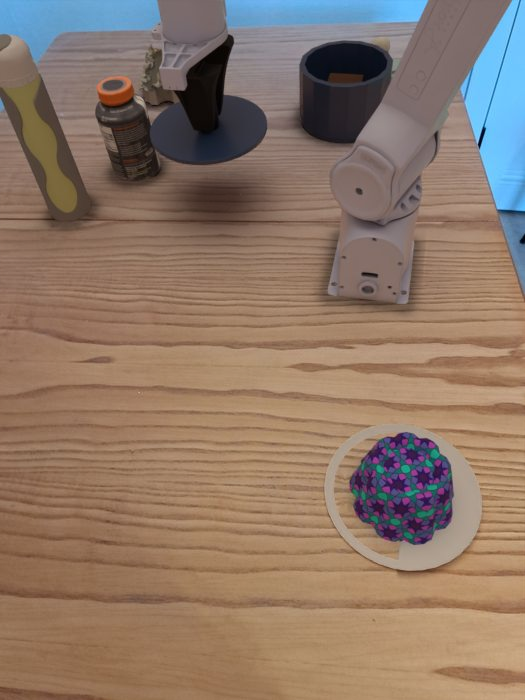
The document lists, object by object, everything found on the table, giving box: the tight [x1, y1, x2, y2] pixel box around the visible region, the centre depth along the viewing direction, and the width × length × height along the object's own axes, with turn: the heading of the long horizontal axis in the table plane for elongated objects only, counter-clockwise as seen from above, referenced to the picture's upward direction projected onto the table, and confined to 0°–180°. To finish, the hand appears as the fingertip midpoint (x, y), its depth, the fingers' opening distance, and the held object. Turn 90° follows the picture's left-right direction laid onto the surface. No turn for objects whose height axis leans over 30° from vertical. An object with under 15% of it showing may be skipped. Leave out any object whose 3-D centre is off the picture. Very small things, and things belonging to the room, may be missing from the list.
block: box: [327, 73, 364, 84], centre depth 75 cm, size 4×4×4 cm
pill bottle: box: [94, 75, 161, 182], centre depth 68 cm, size 6×6×11 cm
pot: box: [298, 39, 394, 144], centre depth 74 cm, size 11×11×8 cm
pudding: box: [323, 422, 483, 572], centre depth 43 cm, size 12×12×5 cm
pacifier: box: [369, 36, 401, 80], centre depth 81 cm, size 7×6×6 cm
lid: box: [150, 94, 268, 166], centre depth 59 cm, size 12×12×5 cm
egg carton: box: [139, 43, 180, 106], centre depth 83 cm, size 11×8×4 cm
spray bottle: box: [0, 33, 92, 223], centre depth 61 cm, size 5×5×20 cm
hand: (207, 120), depth 60 cm, fingers closed on lid, 2 cm apart
